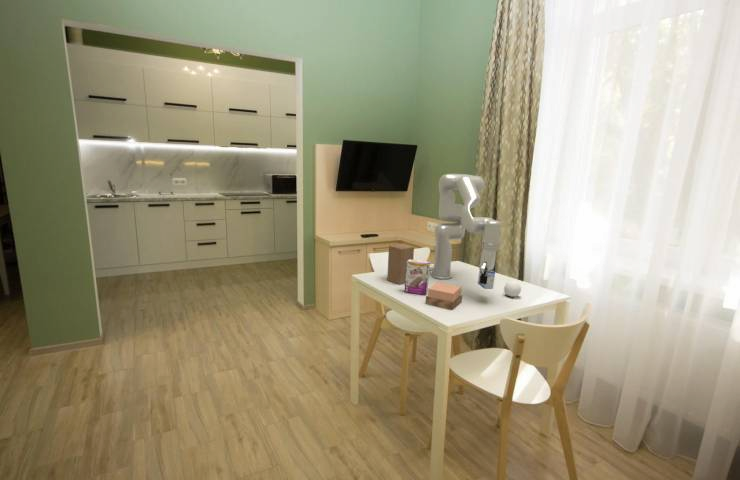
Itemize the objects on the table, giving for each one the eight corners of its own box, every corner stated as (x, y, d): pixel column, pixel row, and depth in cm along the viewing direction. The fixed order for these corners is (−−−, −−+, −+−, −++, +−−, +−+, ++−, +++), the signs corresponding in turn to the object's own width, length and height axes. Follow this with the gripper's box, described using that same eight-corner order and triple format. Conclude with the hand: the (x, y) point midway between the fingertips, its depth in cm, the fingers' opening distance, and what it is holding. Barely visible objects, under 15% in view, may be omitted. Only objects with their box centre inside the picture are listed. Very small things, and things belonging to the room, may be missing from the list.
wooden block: (399, 285, 203) (401, 248, 199) (386, 280, 210) (388, 245, 207) (412, 281, 210) (414, 246, 206) (399, 277, 217) (401, 243, 213)
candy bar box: (404, 292, 191) (405, 261, 188) (406, 289, 196) (408, 259, 193) (426, 295, 188) (428, 263, 184) (427, 292, 192) (430, 261, 189)
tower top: (427, 296, 176) (428, 288, 175) (436, 289, 186) (437, 282, 185) (452, 302, 170) (453, 293, 169) (460, 294, 180) (461, 286, 179)
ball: (520, 300, 187) (522, 284, 185) (503, 297, 189) (505, 282, 187) (519, 294, 194) (521, 280, 193) (502, 292, 197) (504, 278, 195)
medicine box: (477, 283, 186) (479, 266, 184) (486, 283, 187) (488, 266, 185) (484, 289, 178) (486, 271, 176) (493, 289, 179) (495, 271, 177)
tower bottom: (425, 304, 177) (426, 296, 176) (436, 297, 188) (436, 289, 187) (451, 311, 170) (452, 302, 169) (461, 303, 181) (462, 295, 180)
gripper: (487, 242, 187) (483, 275, 191) (476, 248, 173) (472, 284, 177) (502, 244, 183) (498, 278, 187) (493, 251, 169) (488, 287, 173)
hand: (485, 281), depth 182 cm, fingers closed on medicine box, 9 cm apart
